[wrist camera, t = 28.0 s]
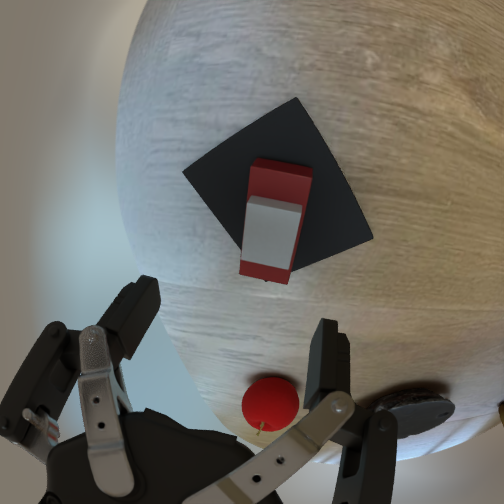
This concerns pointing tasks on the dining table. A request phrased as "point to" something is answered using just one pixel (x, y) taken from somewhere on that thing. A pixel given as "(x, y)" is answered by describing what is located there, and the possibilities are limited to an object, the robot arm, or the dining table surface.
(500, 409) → the yellow fluted pedestal
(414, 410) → the board
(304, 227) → the mat
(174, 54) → the dining table surface
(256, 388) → the fruit
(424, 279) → the dining table surface
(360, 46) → the dining table surface
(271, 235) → the red and grey block
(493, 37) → the dining table surface
